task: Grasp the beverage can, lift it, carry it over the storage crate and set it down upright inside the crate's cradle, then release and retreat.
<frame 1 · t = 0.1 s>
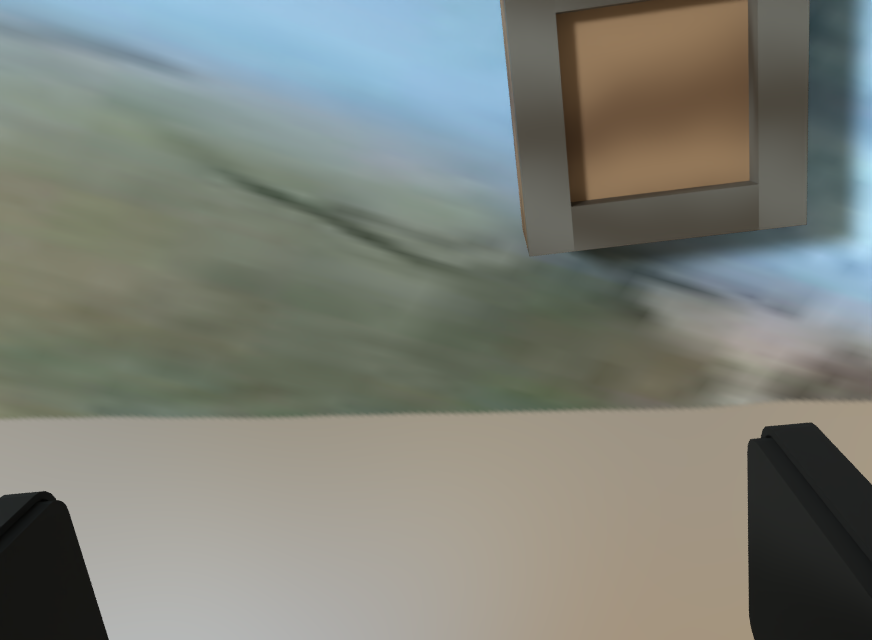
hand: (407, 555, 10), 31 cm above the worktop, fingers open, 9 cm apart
storage crate: (632, 96, 38), on the worktop
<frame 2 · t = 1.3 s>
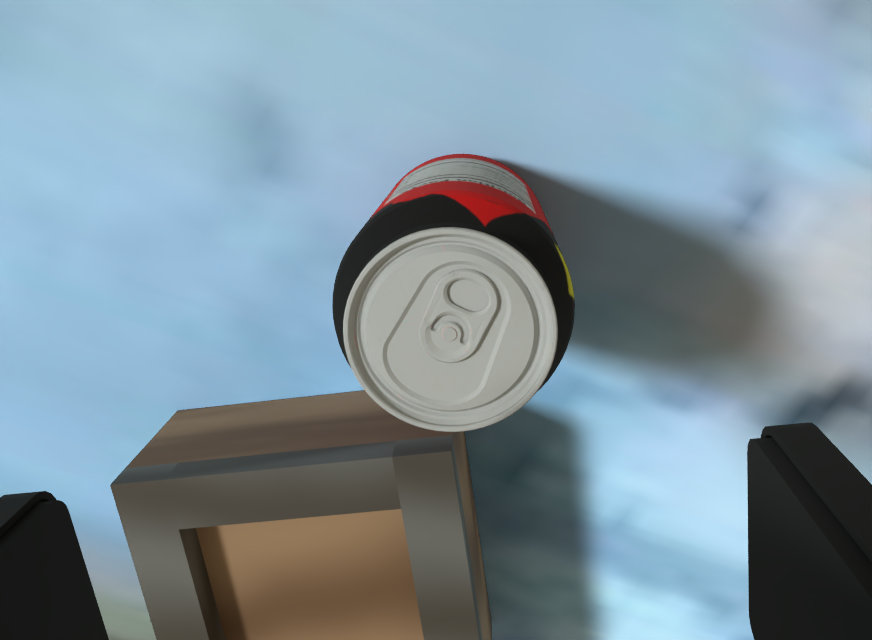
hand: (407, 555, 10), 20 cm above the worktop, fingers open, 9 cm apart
beverage can: (462, 233, 30), on the worktop
storage crate: (340, 520, 34), on the worktop
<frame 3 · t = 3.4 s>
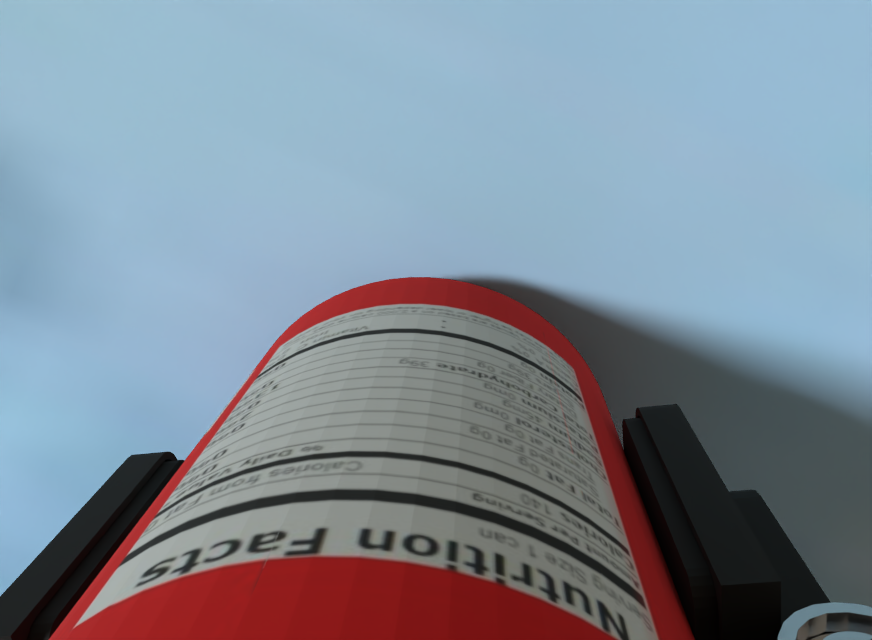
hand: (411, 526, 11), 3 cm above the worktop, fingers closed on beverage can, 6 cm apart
beverage can: (429, 423, 14), on the worktop, touching gripper
when the fingers open (9 cm above the worktop, at t = 8.2 s): beverage can drops 1 cm, resting on storage crate.
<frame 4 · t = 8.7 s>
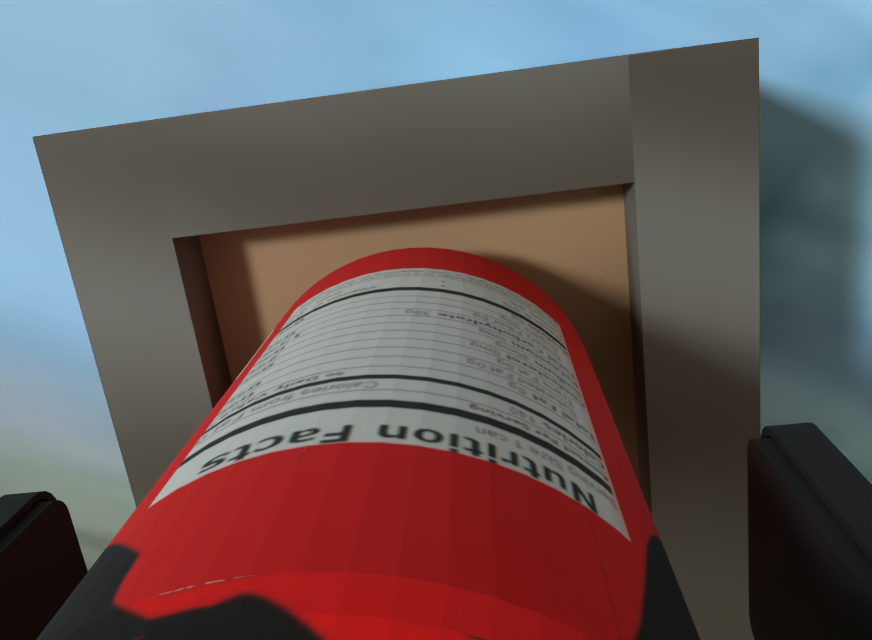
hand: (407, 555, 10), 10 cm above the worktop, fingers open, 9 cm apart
beverage can: (429, 385, 15), point 5 cm above the worktop, touching storage crate
storage crate: (443, 320, 20), on the worktop
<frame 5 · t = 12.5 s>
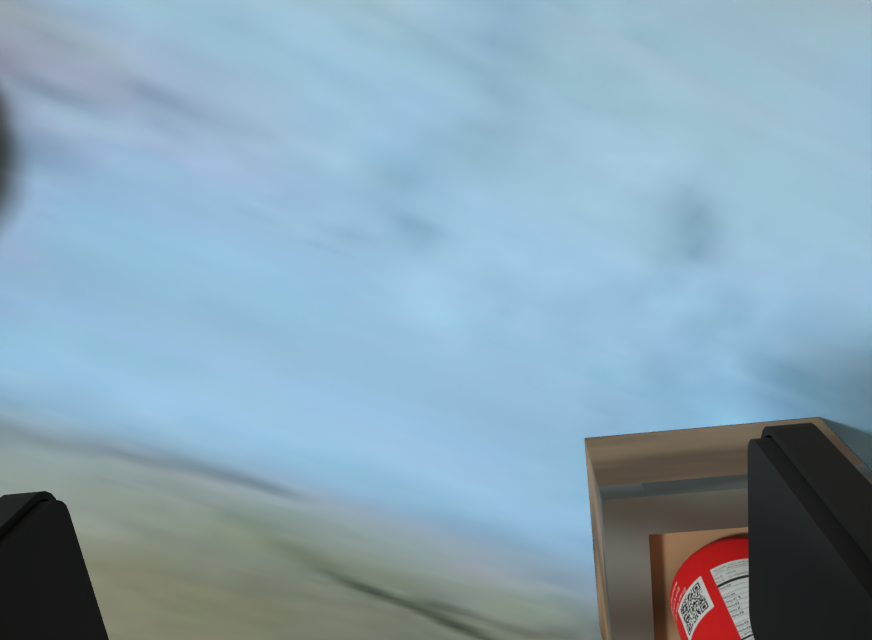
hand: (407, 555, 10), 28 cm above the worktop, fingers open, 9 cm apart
beverage can: (729, 579, 37), point 5 cm above the worktop, touching storage crate
storage crate: (703, 527, 42), on the worktop
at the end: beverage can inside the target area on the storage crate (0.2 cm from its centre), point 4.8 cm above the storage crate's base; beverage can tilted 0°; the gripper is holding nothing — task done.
